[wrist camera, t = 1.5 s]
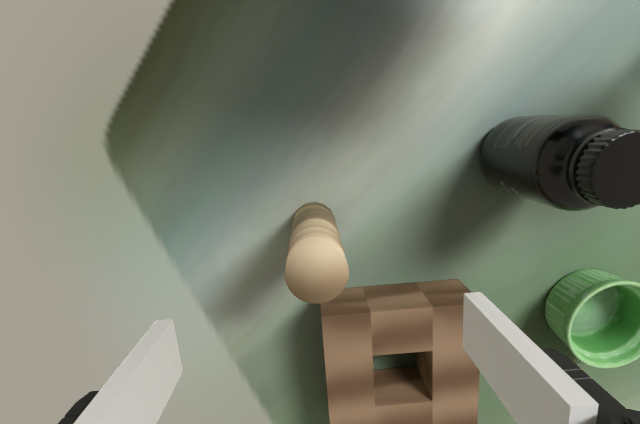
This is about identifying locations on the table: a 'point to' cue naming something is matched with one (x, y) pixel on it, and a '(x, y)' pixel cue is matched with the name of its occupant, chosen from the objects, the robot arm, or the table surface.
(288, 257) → the peg
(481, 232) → the table surface
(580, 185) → the supplement bottle
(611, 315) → the ramekin
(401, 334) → the socket block
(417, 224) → the table surface
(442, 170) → the table surface
